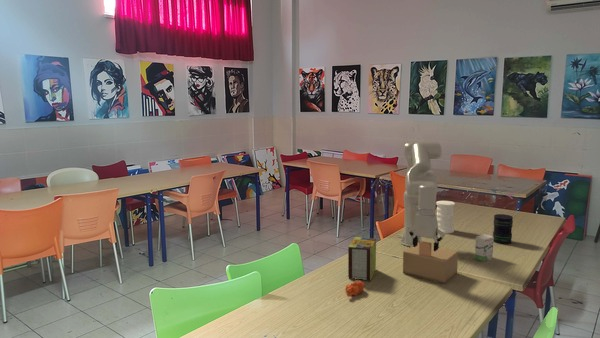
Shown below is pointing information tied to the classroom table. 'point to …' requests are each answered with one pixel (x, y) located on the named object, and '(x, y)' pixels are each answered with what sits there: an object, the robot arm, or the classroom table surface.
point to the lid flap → (431, 252)
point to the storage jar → (502, 229)
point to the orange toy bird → (354, 288)
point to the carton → (430, 268)
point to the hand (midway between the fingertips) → (425, 248)
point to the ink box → (484, 247)
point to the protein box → (362, 258)
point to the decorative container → (445, 216)
